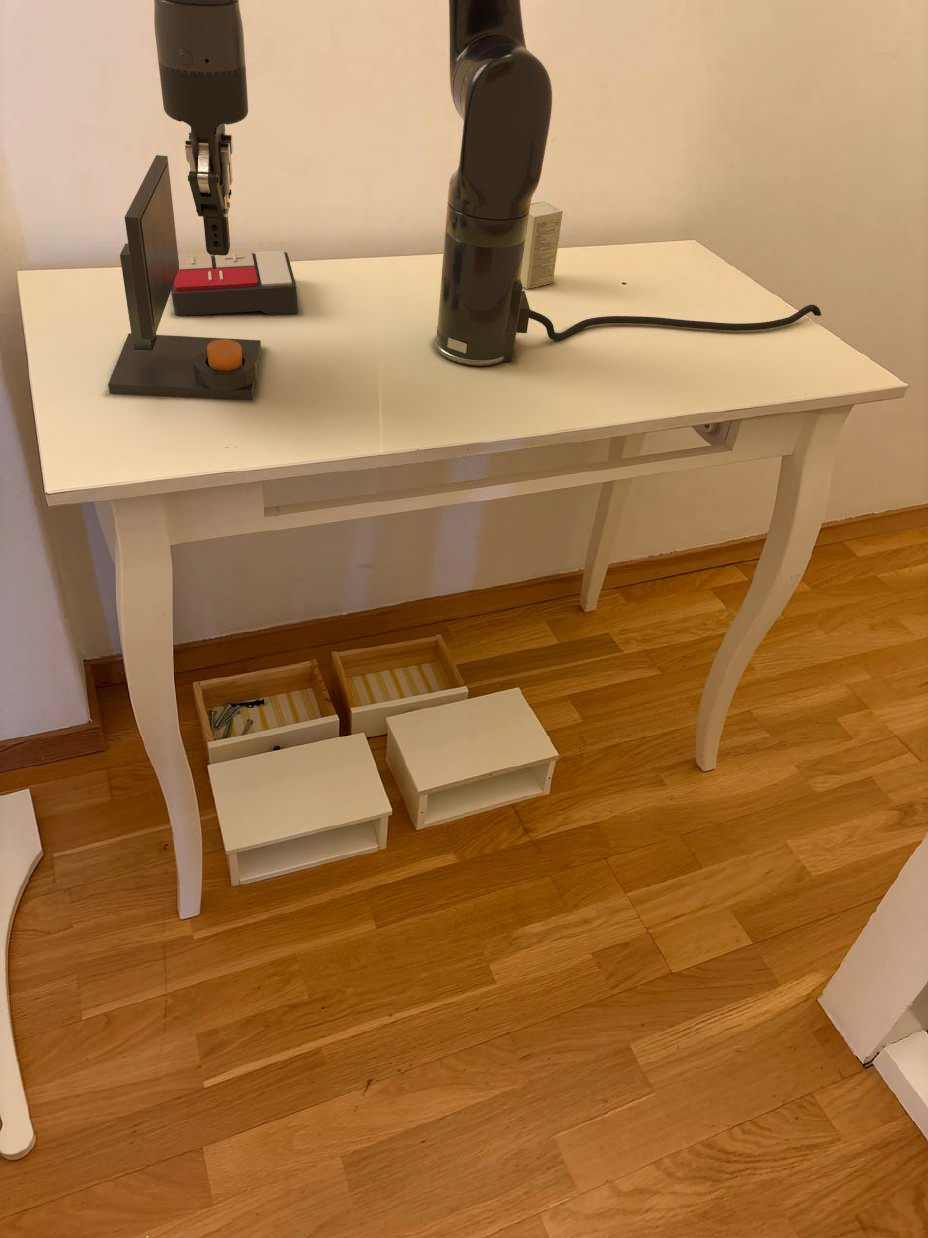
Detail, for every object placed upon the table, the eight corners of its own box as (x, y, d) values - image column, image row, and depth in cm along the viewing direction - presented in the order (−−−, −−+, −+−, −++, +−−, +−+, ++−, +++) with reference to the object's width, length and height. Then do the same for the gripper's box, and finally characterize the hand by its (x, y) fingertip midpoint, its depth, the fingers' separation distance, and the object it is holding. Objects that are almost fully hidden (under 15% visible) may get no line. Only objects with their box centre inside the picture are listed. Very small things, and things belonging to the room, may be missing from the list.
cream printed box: (534, 272, 138) (545, 200, 131) (553, 283, 135) (565, 211, 129) (506, 277, 135) (515, 204, 129) (525, 289, 133) (535, 215, 126)
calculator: (168, 251, 122) (286, 245, 125) (173, 283, 125) (289, 277, 128) (170, 287, 114) (296, 280, 117) (175, 321, 117) (298, 313, 120)
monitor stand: (156, 337, 106) (144, 244, 99) (152, 350, 104) (139, 255, 97) (138, 336, 106) (125, 243, 99) (133, 349, 104) (119, 254, 97)
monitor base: (263, 349, 113) (262, 325, 111) (254, 401, 104) (253, 376, 102) (129, 342, 111) (126, 318, 109) (109, 395, 102) (104, 369, 100)
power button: (243, 357, 106) (242, 339, 104) (240, 372, 103) (239, 355, 102) (210, 355, 105) (209, 338, 104) (206, 371, 102) (204, 353, 101)
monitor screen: (180, 267, 109) (168, 155, 101) (154, 340, 95) (138, 217, 87) (162, 266, 108) (149, 154, 100) (134, 339, 95) (116, 216, 87)
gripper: (238, 79, 80) (251, 281, 92) (251, 42, 90) (261, 229, 101) (145, 72, 79) (170, 277, 91) (169, 36, 89) (189, 225, 100)
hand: (218, 251), depth 96 cm, fingers closed
